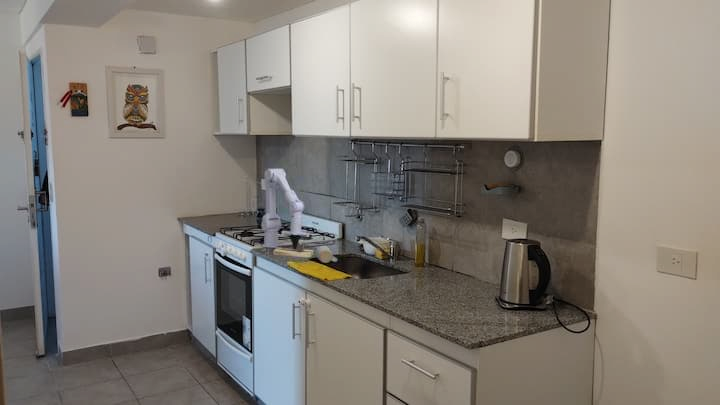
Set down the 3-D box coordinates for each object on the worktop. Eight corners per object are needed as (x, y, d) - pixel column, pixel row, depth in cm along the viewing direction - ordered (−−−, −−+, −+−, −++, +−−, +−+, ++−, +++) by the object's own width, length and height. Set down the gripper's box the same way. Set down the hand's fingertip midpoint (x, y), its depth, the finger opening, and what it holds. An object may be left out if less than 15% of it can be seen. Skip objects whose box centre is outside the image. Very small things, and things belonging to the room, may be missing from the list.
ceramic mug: (318, 263, 294) (319, 249, 293) (315, 259, 302) (316, 245, 301) (339, 263, 297) (340, 249, 296) (334, 259, 305) (335, 245, 304)
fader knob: (298, 249, 312) (298, 242, 312) (304, 249, 312) (304, 242, 311) (297, 251, 308) (297, 243, 308) (302, 251, 308) (303, 244, 307)
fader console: (277, 250, 316) (277, 247, 316) (313, 253, 314) (313, 249, 314) (273, 254, 307) (273, 250, 307) (310, 257, 306) (310, 253, 305)
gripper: (280, 224, 305) (279, 249, 307) (308, 226, 304) (306, 251, 306) (283, 222, 312) (282, 246, 314) (310, 224, 311) (309, 248, 313)
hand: (294, 249), depth 310 cm, fingers closed
